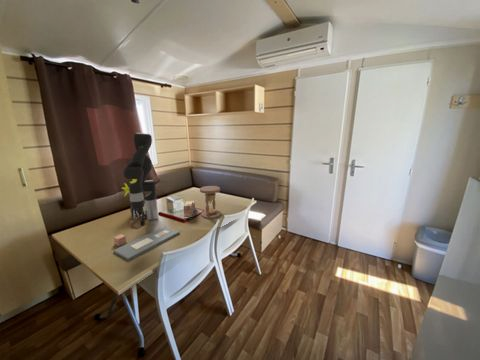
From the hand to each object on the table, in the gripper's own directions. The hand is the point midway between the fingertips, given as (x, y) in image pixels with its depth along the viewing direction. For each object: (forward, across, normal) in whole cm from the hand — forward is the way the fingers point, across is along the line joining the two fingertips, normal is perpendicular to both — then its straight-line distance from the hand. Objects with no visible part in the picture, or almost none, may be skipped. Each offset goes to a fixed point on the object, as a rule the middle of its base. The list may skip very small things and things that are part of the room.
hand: (140, 224), depth 128 cm
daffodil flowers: (+15, -54, +29) cm, 63 cm away
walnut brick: (+1, 0, 0) cm, 1 cm away
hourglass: (+15, +6, +62) cm, 64 cm away
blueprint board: (+15, 0, +5) cm, 16 cm away
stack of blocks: (+15, -12, +54) cm, 57 cm away
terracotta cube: (+15, -15, -6) cm, 22 cm away
